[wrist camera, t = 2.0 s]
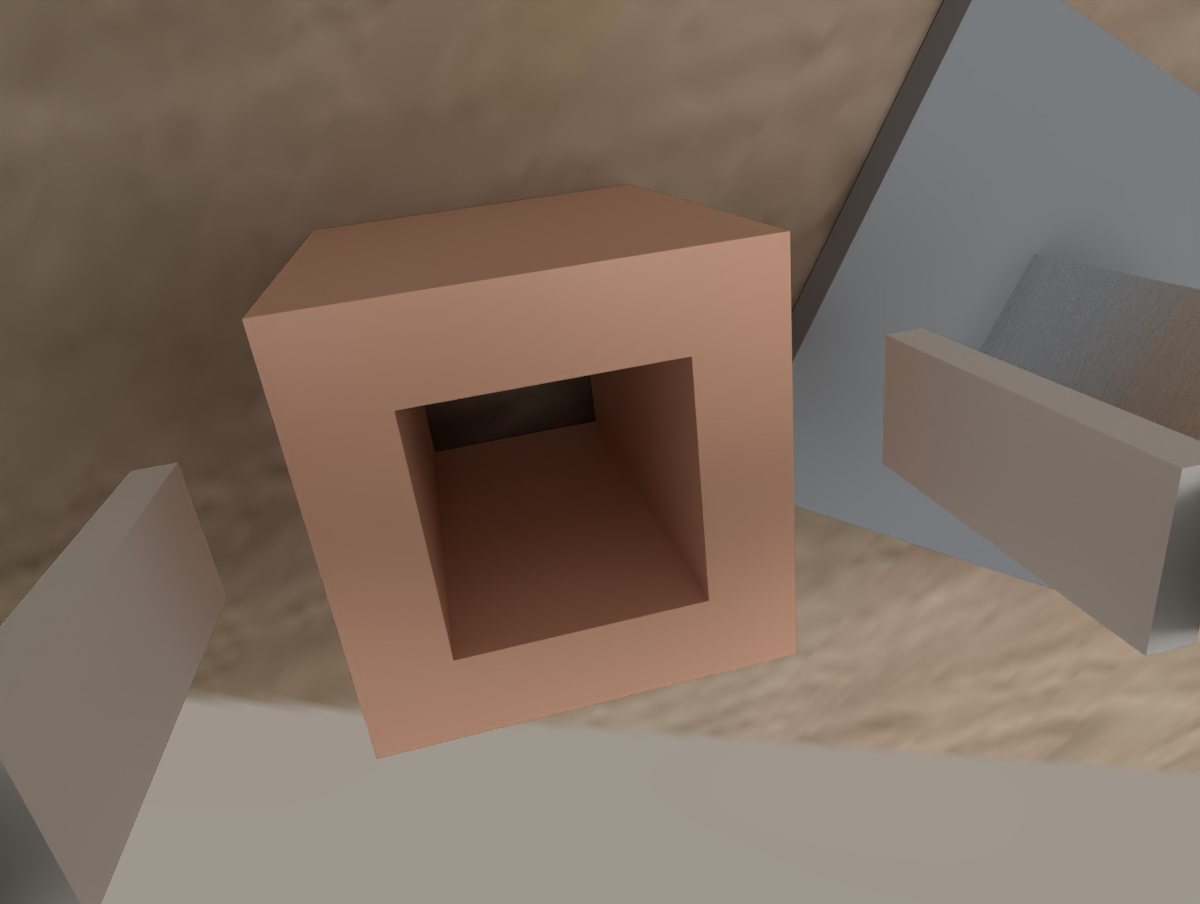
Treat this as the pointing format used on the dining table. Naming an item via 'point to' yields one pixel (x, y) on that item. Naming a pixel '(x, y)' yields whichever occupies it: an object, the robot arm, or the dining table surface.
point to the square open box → (540, 452)
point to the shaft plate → (982, 229)
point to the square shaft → (1106, 338)
